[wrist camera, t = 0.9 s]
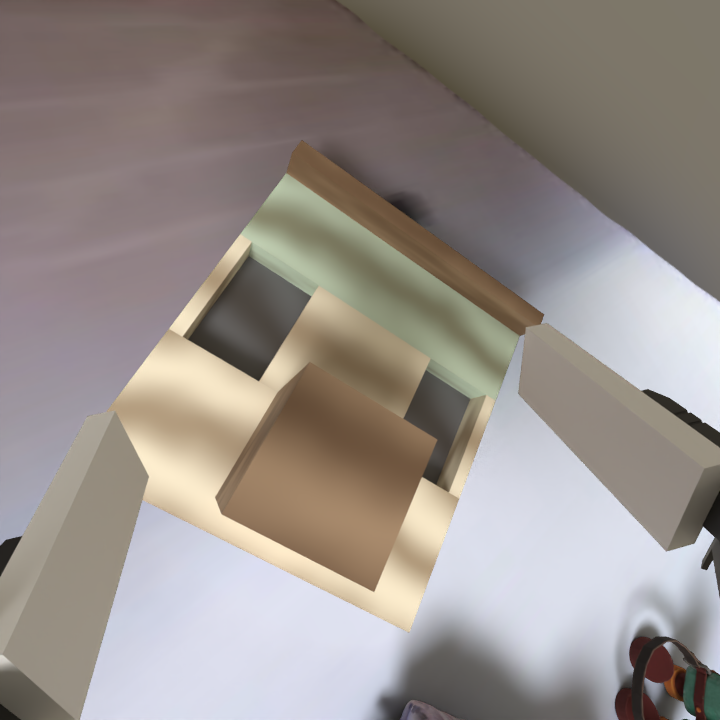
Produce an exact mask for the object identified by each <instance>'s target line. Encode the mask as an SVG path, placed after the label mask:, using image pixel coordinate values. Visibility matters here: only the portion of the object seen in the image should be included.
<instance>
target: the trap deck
mask: <svg viewBox="0 0 720 720" xmlns="http://www.w3.org/2000/svg"><path fill="white" fill-rule="evenodd" d="M543 316H544V314H543V313H541V312H540V311H539V310H537V309H536V308H534V307H533V306H532V305H530V304H529V303H527V302H526V301H525V300H523V299H522V298H520V297H519V296H518V295H516V294H515V293H514V292H512V291H511V290H509V289H508V288H507V287H505V286H504V285H502V284H501V283H500V282H498V281H497V280H495V279H494V278H493V277H491V276H490V275H489V274H487V273H486V272H484V271H483V270H482V269H480V268H479V267H477V266H476V265H475V264H473V263H472V262H470V261H469V260H468V259H466V258H465V257H464V256H462V255H461V254H459V253H458V252H457V251H455V250H454V249H452V248H451V247H450V246H448V245H447V244H445V243H444V242H443V241H441V240H440V239H439V238H437V237H436V236H434V235H433V234H432V233H430V232H429V231H427V230H426V229H425V228H423V227H422V226H420V225H419V224H418V223H416V222H415V221H414V220H412V219H411V218H409V217H408V216H407V215H405V214H404V213H402V212H401V211H400V210H398V209H397V208H395V207H394V206H393V205H391V204H390V203H389V202H387V201H386V200H384V199H383V198H382V197H380V196H379V195H377V194H376V193H375V192H373V191H372V190H370V189H369V188H368V187H366V186H365V185H364V184H362V183H361V182H359V181H358V180H357V179H355V178H354V177H352V176H351V175H350V174H348V173H347V172H345V171H344V170H343V169H341V168H340V167H339V166H337V165H336V164H334V163H333V162H332V161H330V160H329V159H327V158H326V157H325V156H323V155H322V154H320V153H319V152H318V151H316V150H315V149H314V148H312V147H311V146H309V145H308V144H307V143H305V142H304V141H301V142H300V143H299V145H298V146H297V147H296V149H295V150H294V151H293V152H292V156H291V159H290V162H289V166H288V169H287V173H286V174H285V176H284V177H283V178H282V180H281V181H280V182H279V184H278V185H277V186H276V188H275V189H274V190H273V192H272V193H271V194H270V196H269V197H268V198H267V200H266V201H265V202H264V203H263V205H262V206H261V207H260V209H259V210H258V211H257V213H256V214H255V215H254V217H253V218H252V219H251V221H250V222H249V223H248V225H247V226H246V227H245V229H244V230H243V231H242V233H241V234H240V235H239V237H238V238H237V239H236V241H235V242H234V243H233V245H232V246H231V247H230V249H229V250H228V251H227V253H226V254H225V255H224V257H223V258H222V259H221V261H220V262H219V263H218V265H217V266H216V267H215V268H214V270H213V271H212V272H211V274H210V275H209V276H208V278H207V279H206V280H205V282H204V283H203V284H202V286H201V287H200V288H199V290H198V291H197V292H196V294H195V295H194V296H193V298H192V299H191V300H190V302H189V303H188V304H187V306H186V307H185V308H184V310H183V311H182V312H181V314H180V315H179V316H178V318H177V319H176V320H175V322H174V323H173V324H172V326H171V327H170V328H169V330H168V331H167V332H166V333H165V335H164V336H163V337H162V339H161V340H160V341H159V343H158V344H157V345H156V347H155V348H154V349H153V351H152V352H151V353H150V355H149V356H148V357H147V359H146V360H145V361H144V363H143V364H142V365H141V367H140V368H139V369H138V371H137V372H136V373H135V375H134V376H133V377H132V379H131V380H130V381H129V383H128V384H127V385H126V387H125V388H124V389H123V391H122V392H121V393H120V395H119V396H118V397H117V399H116V400H115V401H114V402H113V404H112V405H111V406H110V408H109V409H108V410H107V412H110V411H116V413H117V415H118V417H119V419H120V421H121V423H122V425H123V427H124V429H125V431H126V433H127V435H128V436H129V438H130V440H131V442H132V444H133V446H134V448H135V450H136V452H137V454H138V456H139V458H140V460H141V462H142V464H143V466H144V468H145V469H146V471H147V473H148V475H149V478H148V482H147V485H146V489H145V492H144V496H143V499H142V500H144V501H146V502H148V503H150V504H152V505H154V506H156V507H158V508H160V509H162V510H164V511H166V512H168V513H170V514H172V515H174V516H176V517H178V518H180V519H182V520H184V521H186V522H188V523H190V524H192V525H194V526H196V527H198V528H200V529H202V530H204V531H206V532H208V533H210V534H212V535H214V536H216V537H218V538H220V539H222V540H224V541H226V542H228V543H230V544H232V545H234V546H236V547H238V548H240V549H242V550H244V551H246V552H248V553H250V554H252V555H254V556H256V557H258V558H260V559H262V560H264V561H266V562H268V563H270V564H272V565H274V566H276V567H278V568H280V569H282V570H284V571H286V572H288V573H290V574H292V575H294V576H296V577H298V578H300V579H302V580H304V581H306V582H308V583H310V584H312V585H314V586H316V587H318V588H320V589H323V590H325V591H327V592H329V593H331V594H333V595H335V596H337V597H339V598H341V599H343V600H345V601H347V602H349V603H351V604H353V605H355V606H357V607H359V608H361V609H363V610H365V611H367V612H369V613H371V614H373V615H375V616H377V617H379V618H381V619H383V620H385V621H387V622H389V623H391V624H393V625H395V626H397V627H399V628H401V629H403V630H405V631H407V632H410V629H411V626H412V624H413V621H414V618H415V616H416V613H417V610H418V608H419V605H420V602H421V600H422V597H423V594H424V592H425V589H426V586H427V584H428V581H429V578H430V575H431V573H432V570H433V567H434V565H435V562H436V559H437V557H438V554H439V551H440V549H441V546H442V543H443V541H444V538H445V535H446V533H447V530H448V527H449V524H450V522H451V519H452V516H453V514H454V511H455V508H456V506H457V503H458V500H459V498H460V495H461V492H462V490H463V487H464V484H465V482H466V479H467V476H468V473H469V471H470V468H471V465H472V463H473V460H474V457H475V455H476V452H477V449H478V447H479V444H480V441H481V439H482V436H483V433H484V431H485V428H486V425H487V422H488V420H489V417H490V414H491V412H492V409H493V406H494V404H495V401H496V398H497V396H498V393H499V390H500V388H501V385H502V382H503V379H504V377H505V374H506V371H507V369H508V366H509V363H510V361H511V358H512V355H513V353H514V350H515V347H516V345H517V342H518V339H519V337H520V336H521V335H523V334H525V331H526V327H530V326H535V325H540V324H541V322H542V319H543ZM309 362H311V363H313V364H314V365H316V366H318V367H319V368H321V369H322V370H324V371H326V372H327V373H329V374H331V375H332V376H334V377H336V378H337V379H339V380H340V381H342V382H344V383H345V384H347V385H349V386H350V387H352V388H354V389H355V390H357V391H358V392H360V393H362V394H363V395H365V396H367V397H368V398H370V399H372V400H373V401H375V402H377V403H378V404H380V405H381V406H383V407H385V408H386V409H388V410H390V411H391V412H393V413H395V414H396V415H398V416H399V417H401V418H403V419H404V420H406V421H408V422H409V423H411V424H413V425H414V426H416V427H417V428H419V429H421V430H422V431H424V432H426V433H427V434H429V435H431V436H432V437H434V438H436V439H437V442H436V444H435V447H434V449H433V452H432V454H431V456H430V459H429V461H428V464H427V466H426V468H425V471H424V473H423V476H422V478H421V481H420V483H419V485H418V488H417V490H416V493H415V495H414V497H413V500H412V502H411V505H410V507H409V509H408V512H407V514H406V517H405V519H404V522H403V524H402V526H401V529H400V531H399V534H398V536H397V538H396V541H395V543H394V546H393V548H392V550H391V553H390V555H389V558H388V560H387V563H386V565H385V567H384V570H383V572H382V575H381V577H380V579H379V582H378V584H377V587H376V589H375V591H374V592H373V591H371V590H369V589H367V588H365V587H363V586H361V585H359V584H357V583H355V582H353V581H351V580H349V579H347V578H345V577H343V576H341V575H339V574H337V573H335V572H333V571H331V570H330V569H328V568H326V567H324V566H322V565H320V564H318V563H316V562H314V561H312V560H310V559H308V558H306V557H304V556H302V555H300V554H298V553H296V552H294V551H292V550H290V549H288V548H286V547H284V546H282V545H280V544H279V543H277V542H275V541H273V540H271V539H269V538H267V537H265V536H263V535H261V534H259V533H257V532H255V531H253V530H251V529H249V528H247V527H245V526H243V525H241V524H239V523H237V522H235V521H233V520H231V519H230V518H228V517H226V516H224V515H222V514H221V512H220V509H219V507H218V504H217V501H216V499H215V496H216V495H217V493H218V491H219V490H220V488H221V486H222V485H223V483H224V481H225V480H226V478H227V476H228V475H229V473H230V471H231V469H232V468H233V466H234V464H235V463H236V461H237V459H238V458H239V456H240V454H241V453H242V451H243V449H244V448H245V446H246V444H247V443H248V441H249V439H250V438H251V436H252V434H253V433H254V431H255V429H256V428H257V426H258V424H259V423H260V421H261V419H262V417H263V416H264V414H265V412H266V411H267V409H268V407H269V406H270V404H271V402H272V401H273V399H274V397H275V396H276V394H277V392H278V391H279V390H281V389H282V388H283V387H284V386H285V385H286V384H287V383H288V382H289V381H290V380H291V379H292V378H293V377H294V376H295V375H296V374H298V373H299V372H300V371H301V370H302V369H303V368H304V367H305V366H306V365H307V364H308V363H309Z"/></svg>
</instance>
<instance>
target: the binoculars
mask: <svg viewBox="0 0 720 720" xmlns="http://www.w3.org/2000/svg"><path fill="white" fill-rule="evenodd" d="M666 642H672V643H674V644H675V645H676V646H677V647H678V649H679V650H680V651H681V652H682V653H683V655H684V657H685V658H683V660H684V661H685V662H686V663H687V664H689V665H690V666H688V668H687V670H685V669H684V668H681V667H679V666H677V665H673V661H672V658H671V656H670V654H669V652H668V651H667V650H666V648H665V647H664V646H663V644H664V643H666ZM629 656H630V661H631V664H632V666H633V668H634V672H633V678H632V689H630V688H623V689H621V690H620V691H619V693H618V694H617V697H616V702H615V707H616V713H617V716H618V719H619V720H669V719H667V718H665V717H662V716H659V714H658V711H657V709H656V707H655V705H654V704H653V702H652V701H651V699H650V698H649V697H648V696H647V695H646V694H645V693H643V687H644V679H645V678H647V679H649V680H650V681H652V682H656V683H663V682H664V685H665V688H666V690H667V692H668V694H669V695H670V696H671V697H673V698H675V699H677V700H679V701H682V702H684V705H685V708H686V710H687V711H688V712H689V713H690V714H691V715H693V716H695V717H696V720H720V675H719V674H718V673H716V672H715V671H714V670H710V669H709V668H708V667H707V666H706V665H704V664H702V663H701V662H700V661H699V660H698V659H697V658H696V656H695V655H694V653H692V652H691V651H689V650H688V649H687V647H686V646H684V645H683V644H681V643H680V642H679V641H677V640H675V639H672V638H669V637H655V638H654V639H650V638H647V637H639V638H637V639H635V640H634V641H633V643H632V644H631V647H630V652H629ZM683 720H688V719H683Z"/></svg>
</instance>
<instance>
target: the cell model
mask: <svg viewBox="0 0 720 720" xmlns="http://www.w3.org/2000/svg"><path fill="white" fill-rule="evenodd" d="M400 720H465V719H458V718H456V717H454V716H452V715H450V714H448V713H446V712H442V711H439V710H437V709H436V708H434V707H433V706H431V705H429V704H426V703H424V702H422V701H416V700H411V701H410V702H408V703H407V705H406V707H405V709H404V711H403V714H402V717H401V719H400Z"/></svg>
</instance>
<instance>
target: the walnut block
mask: <svg viewBox="0 0 720 720" xmlns="http://www.w3.org/2000/svg"><path fill="white" fill-rule="evenodd" d="M436 442H437V439H436V438H434V437H432V436H431V435H429V434H427V433H426V432H424V431H422V430H421V429H419V428H417V427H416V426H414V425H413V424H411V423H409V422H408V421H406V420H404V419H403V418H401V417H399V416H398V415H396V414H395V413H393V412H391V411H390V410H388V409H386V408H385V407H383V406H381V405H380V404H378V403H377V402H375V401H373V400H372V399H370V398H368V397H367V396H365V395H363V394H362V393H360V392H358V391H357V390H355V389H354V388H352V387H350V386H349V385H347V384H345V383H344V382H342V381H340V380H339V379H337V378H336V377H334V376H332V375H331V374H329V373H327V372H326V371H324V370H322V369H321V368H319V367H318V366H316V365H314V364H313V363H311V362H309V363H308V364H307V365H306V366H305V367H304V368H303V369H302V370H301V371H300V372H299V373H298V374H296V375H295V376H294V377H293V378H292V379H291V380H290V381H289V382H288V383H287V384H286V385H285V386H284V387H283V388H282V389H281V390H279V391H278V392H277V394H276V396H275V397H274V399H273V401H272V402H271V404H270V406H269V407H268V409H267V411H266V412H265V414H264V416H263V417H262V419H261V421H260V423H259V424H258V426H257V428H256V429H255V431H254V433H253V434H252V436H251V438H250V439H249V441H248V443H247V444H246V446H245V448H244V449H243V451H242V453H241V454H240V456H239V458H238V459H237V461H236V463H235V464H234V466H233V468H232V469H231V471H230V473H229V475H228V476H227V478H226V480H225V481H224V483H223V485H222V486H221V488H220V490H219V491H218V493H217V495H216V496H215V499H216V501H217V504H218V507H219V509H220V512H221V514H222V515H224V516H226V517H228V518H230V519H231V520H233V521H235V522H237V523H239V524H241V525H243V526H245V527H247V528H249V529H251V530H253V531H255V532H257V533H259V534H261V535H263V536H265V537H267V538H269V539H271V540H273V541H275V542H277V543H279V544H280V545H282V546H284V547H286V548H288V549H290V550H292V551H294V552H296V553H298V554H300V555H302V556H304V557H306V558H308V559H310V560H312V561H314V562H316V563H318V564H320V565H322V566H324V567H326V568H328V569H330V570H331V571H333V572H335V573H337V574H339V575H341V576H343V577H345V578H347V579H349V580H351V581H353V582H355V583H357V584H359V585H361V586H363V587H365V588H367V589H369V590H371V591H373V592H374V591H375V589H376V587H377V584H378V582H379V579H380V577H381V575H382V572H383V570H384V567H385V565H386V563H387V560H388V558H389V555H390V553H391V550H392V548H393V546H394V543H395V541H396V538H397V536H398V534H399V531H400V529H401V526H402V524H403V522H404V519H405V517H406V514H407V512H408V509H409V507H410V505H411V502H412V500H413V497H414V495H415V493H416V490H417V488H418V485H419V483H420V481H421V478H422V476H423V473H424V471H425V468H426V466H427V464H428V461H429V459H430V456H431V454H432V452H433V449H434V447H435V444H436Z"/></svg>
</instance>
